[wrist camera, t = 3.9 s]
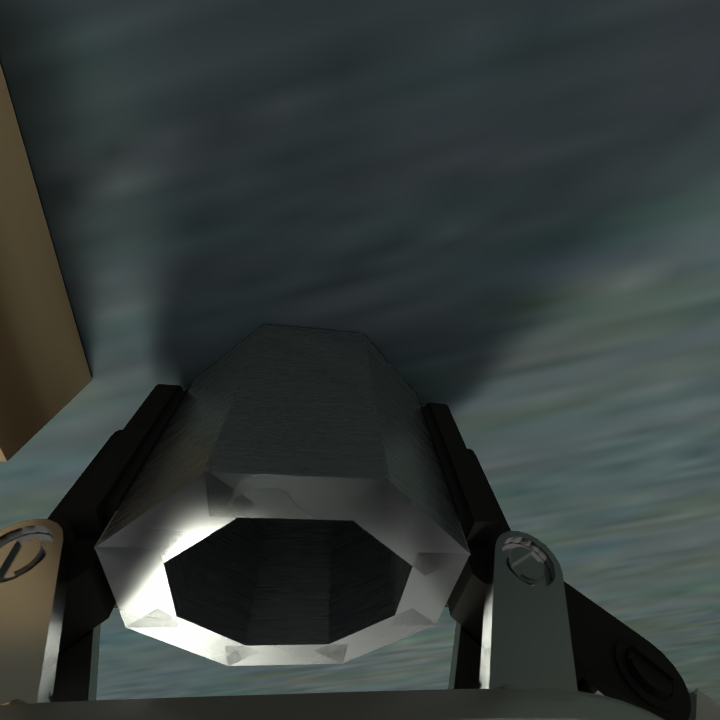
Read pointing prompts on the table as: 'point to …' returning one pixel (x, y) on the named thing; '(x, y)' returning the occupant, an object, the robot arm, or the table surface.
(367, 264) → the table surface
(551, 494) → the table surface
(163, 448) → the tube
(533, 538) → the robot arm
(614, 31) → the table surface
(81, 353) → the shaft block
